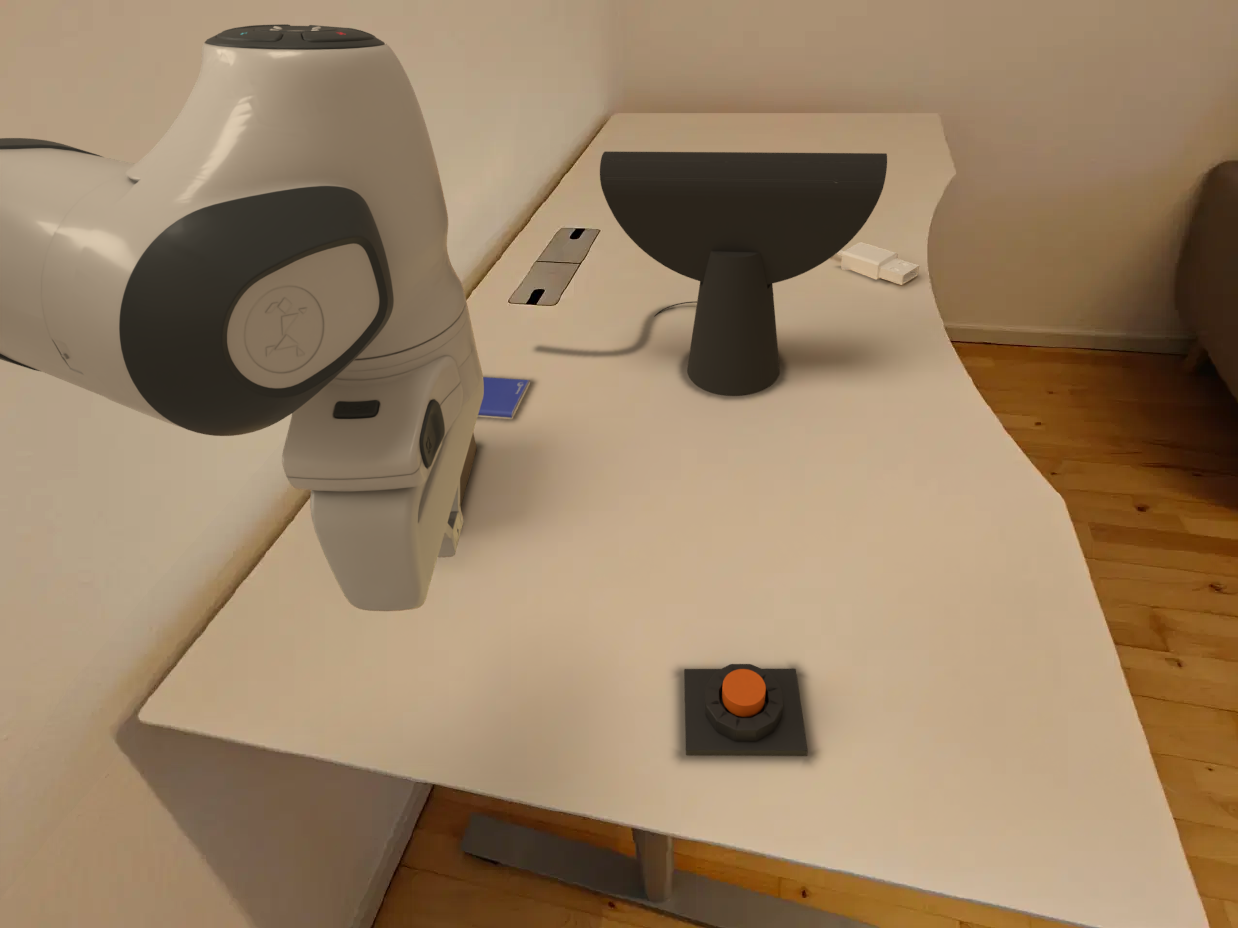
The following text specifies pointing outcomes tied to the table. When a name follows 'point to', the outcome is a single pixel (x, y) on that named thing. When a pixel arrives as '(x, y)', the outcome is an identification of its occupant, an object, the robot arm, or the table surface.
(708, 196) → the table lamp
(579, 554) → the table surface
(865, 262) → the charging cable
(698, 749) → the block
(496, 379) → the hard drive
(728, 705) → the button
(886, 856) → the table surface
